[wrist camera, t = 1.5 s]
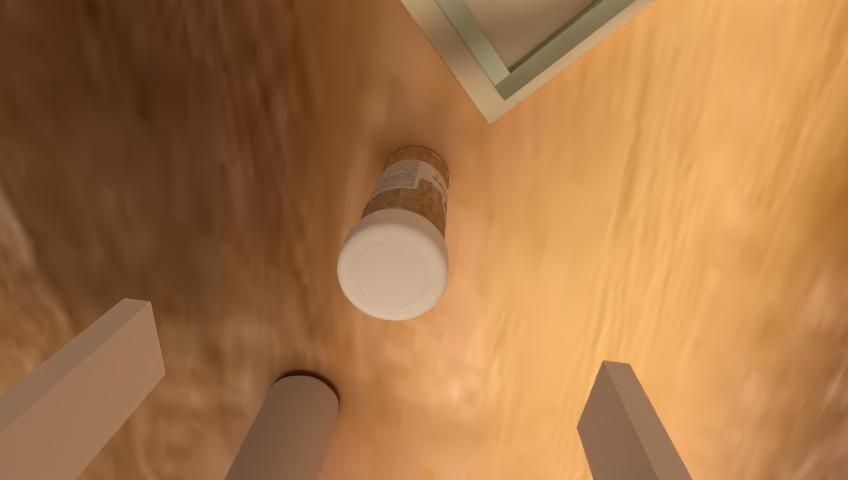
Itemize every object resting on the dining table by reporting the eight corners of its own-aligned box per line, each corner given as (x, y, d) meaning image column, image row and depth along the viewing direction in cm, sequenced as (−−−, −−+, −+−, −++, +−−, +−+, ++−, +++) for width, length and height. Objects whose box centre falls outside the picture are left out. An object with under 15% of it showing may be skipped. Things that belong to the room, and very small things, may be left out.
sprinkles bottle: (454, 201, 29) (458, 316, 17) (392, 213, 30) (353, 332, 18) (441, 136, 28) (434, 216, 15) (374, 151, 28) (318, 238, 16)
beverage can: (260, 399, 39) (187, 539, 28) (292, 357, 37) (226, 492, 26) (319, 430, 40) (272, 574, 30) (354, 392, 38) (316, 533, 27)
